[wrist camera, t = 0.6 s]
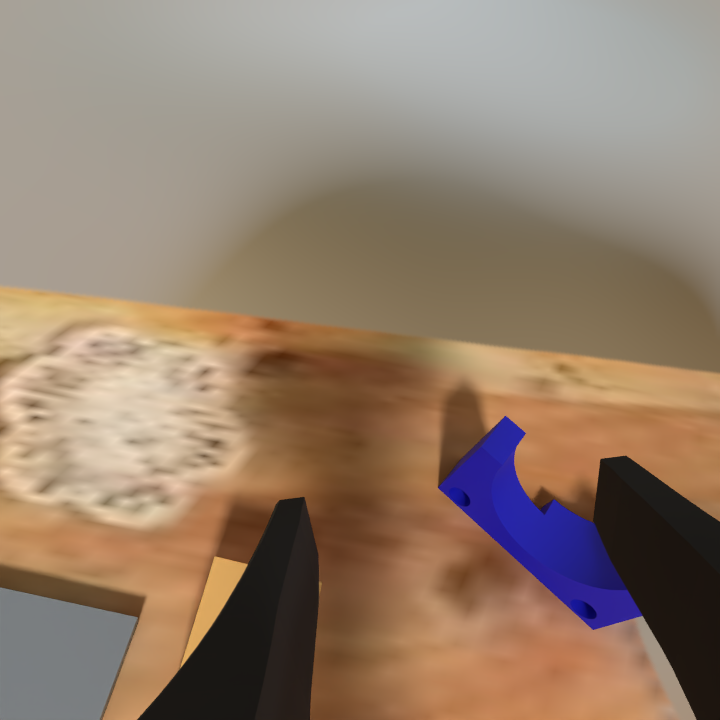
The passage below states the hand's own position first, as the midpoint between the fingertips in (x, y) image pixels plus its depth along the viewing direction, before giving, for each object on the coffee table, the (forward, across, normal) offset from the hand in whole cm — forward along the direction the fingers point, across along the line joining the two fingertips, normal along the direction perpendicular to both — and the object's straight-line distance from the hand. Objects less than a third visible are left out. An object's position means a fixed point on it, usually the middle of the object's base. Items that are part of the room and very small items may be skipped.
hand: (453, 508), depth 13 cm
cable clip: (+15, -7, +18) cm, 24 cm away
